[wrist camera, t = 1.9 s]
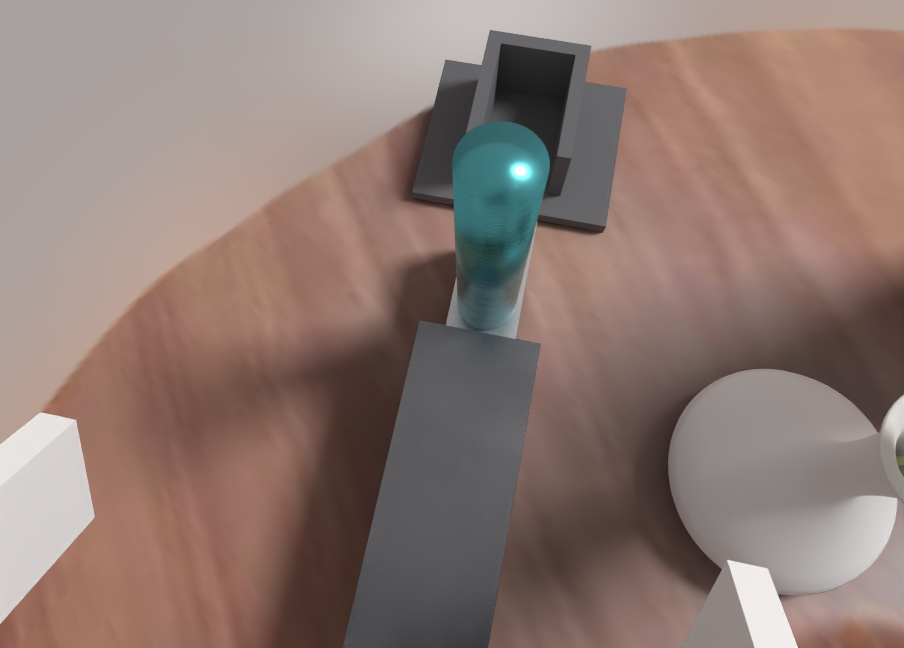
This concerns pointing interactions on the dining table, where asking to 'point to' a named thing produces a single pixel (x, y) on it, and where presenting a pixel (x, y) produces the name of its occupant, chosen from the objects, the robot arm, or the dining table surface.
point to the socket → (531, 122)
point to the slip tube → (495, 224)
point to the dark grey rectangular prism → (445, 493)
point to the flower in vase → (787, 478)
